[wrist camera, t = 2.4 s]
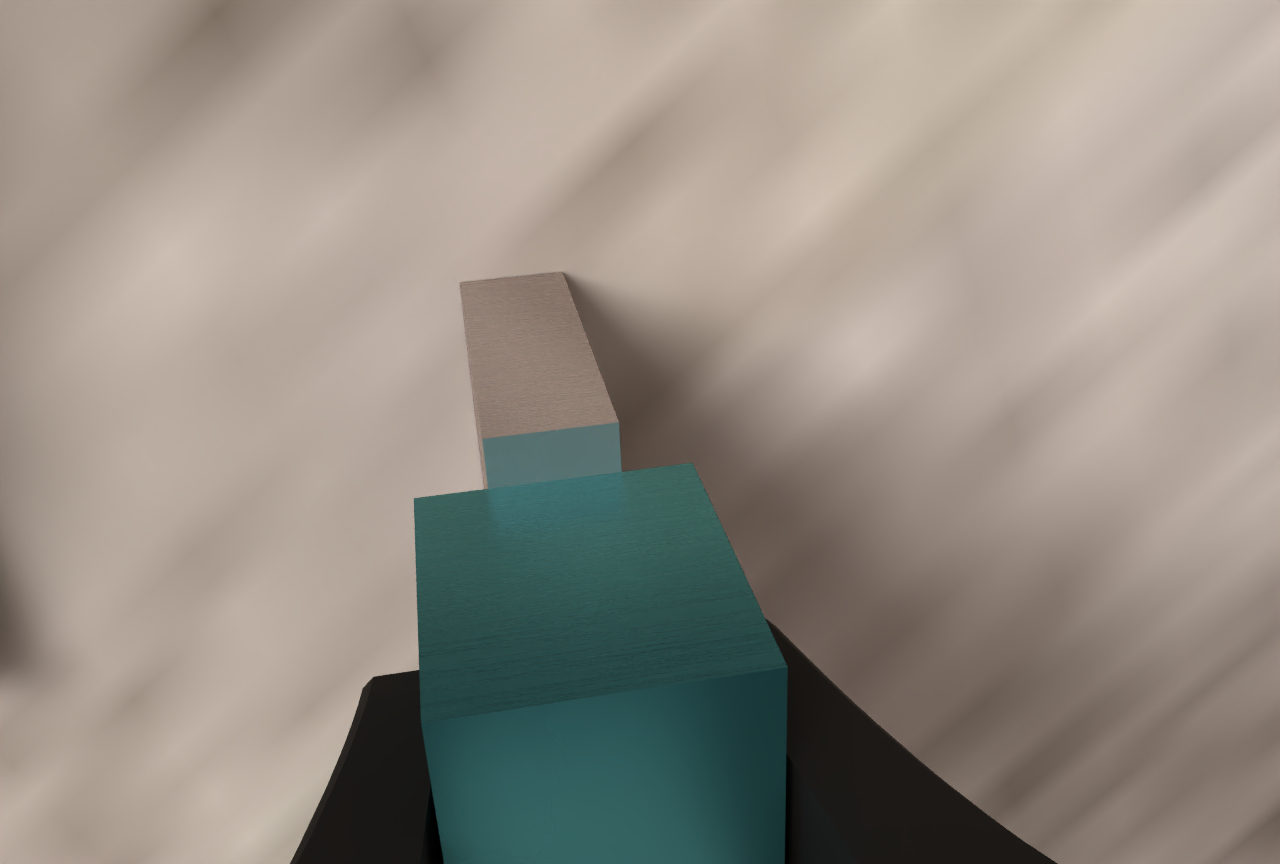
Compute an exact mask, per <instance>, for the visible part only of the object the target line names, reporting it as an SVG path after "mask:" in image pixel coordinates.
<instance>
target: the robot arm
mask: <svg viewBox="0 0 1280 864" xmlns="http://www.w3.org/2000/svg"><path fill="white" fill-rule="evenodd" d="M765 620H766V622H767V624H768V626H769V628H770V630H771V632H772V635H773V637H774V639H775V641H776V643H777V645H778V647H779V650H780V652H781V654H782V656H783V658H784V660H785V662H786V665H787V667H788V675H787V741H786V807H785V864H1057V863H1056V862H1054V861H1053V860H1051V859H1050V858H1048V857H1047V856H1045V855H1044V854H1042V853H1041V852H1039V851H1038V850H1036V849H1035V848H1033V847H1032V846H1030V845H1028V844H1027V843H1025V842H1024V841H1023V840H1021V839H1020V838H1018V837H1017V836H1015V835H1014V834H1013V833H1011V832H1010V831H1009V830H1007V829H1006V828H1005V827H1003V826H1002V825H1000V824H999V823H998V822H996V821H995V820H994V819H992V818H991V817H990V816H988V815H987V814H986V813H984V812H983V811H982V810H981V809H979V808H978V807H977V806H975V805H974V804H973V803H972V802H970V801H969V800H968V799H966V798H965V797H964V796H963V795H961V794H960V793H959V792H957V791H956V790H955V789H954V788H952V787H951V786H950V785H948V784H947V783H946V782H945V781H944V780H942V779H941V778H940V777H939V776H937V775H936V774H935V773H934V772H933V771H931V770H930V769H929V768H928V767H927V766H925V765H924V764H923V763H922V762H920V761H919V760H918V759H917V758H916V757H915V756H914V755H912V754H911V753H910V752H909V751H908V750H907V749H906V748H904V747H903V746H902V745H901V744H900V743H899V742H897V741H896V740H895V739H894V738H893V737H892V736H891V735H889V734H888V733H887V732H886V731H885V730H884V729H883V728H881V727H880V726H879V725H878V724H877V723H876V722H875V721H873V720H872V719H871V718H870V717H869V716H868V715H867V714H866V713H865V712H864V711H862V710H861V709H860V708H859V707H858V706H857V705H856V704H855V703H854V702H853V701H852V700H851V699H850V698H848V697H847V696H846V695H845V694H844V693H843V692H842V691H841V690H840V689H839V688H838V687H837V686H836V685H835V684H834V683H833V682H832V681H831V680H830V679H828V678H827V677H826V676H825V675H824V674H823V673H822V672H821V671H820V670H819V669H818V668H817V667H816V666H815V665H814V664H813V663H812V662H811V661H810V660H809V659H808V658H807V657H806V656H805V655H804V654H803V653H802V652H801V651H800V650H799V649H798V648H797V647H796V646H795V645H794V644H793V643H792V642H791V641H790V640H789V639H788V638H787V637H786V636H785V635H784V634H783V633H782V632H781V631H780V630H779V629H778V628H777V627H776V626H774V625H773V624H772V623H771V622H769V621H768V620H767V619H765ZM290 864H444V860H443V854H442V848H441V842H440V836H439V830H438V824H437V818H436V811H435V805H434V799H433V793H432V787H431V781H430V775H429V769H428V763H427V757H426V750H425V744H424V738H423V732H422V726H421V706H420V675H419V670H416V671H410V672H403V673H396V674H389V675H382V676H376V677H373V678H372V679H371V680H370V681H369V682H368V683H367V685H366V686H365V687H364V688H363V689H362V693H361V697H360V700H359V704H358V707H357V710H356V713H355V716H354V719H353V722H352V725H351V728H350V731H349V733H348V736H347V739H346V741H345V744H344V747H343V749H342V752H341V754H340V757H339V759H338V761H337V764H336V766H335V769H334V771H333V773H332V776H331V778H330V781H329V783H328V785H327V787H326V790H325V792H324V794H323V796H322V798H321V800H320V802H319V804H318V807H317V809H316V811H315V813H314V815H313V817H312V819H311V821H310V824H309V826H308V828H307V830H306V832H305V834H304V836H303V838H302V841H301V843H300V845H299V847H298V849H297V851H296V853H295V855H294V857H293V859H292V861H291V863H290Z"/></svg>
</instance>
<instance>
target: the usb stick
mask: <svg viewBox="0 0 1280 864" xmlns="http://www.w3.org/2000/svg"><path fill="white" fill-rule="evenodd" d="M460 291H461V299H462V307H463V316H464V324H465V332H466V341H467V349H468V358H469V366H470V374H471V383H472V391H473V400H474V408H475V416H476V425H477V433H478V441H479V450H480V458H481V467H482V475H483V483H484V490H476V491H468V492H460V493H452V494H445V495H437V496H429V497H421V498H414V518H415V549H416V581H417V612H418V643H419V675H420V706H421V726H422V732H423V738H424V744H425V750H426V757H427V763H428V769H429V775H430V781H431V787H432V793H433V799H434V805H435V811H436V818H437V824H438V830H439V836H440V842H441V848H442V854H443V860H444V864H785V807H786V741H787V675H788V667H787V665H786V662H785V660H784V658H783V656H782V654H781V652H780V650H779V647H778V645H777V643H776V641H775V639H774V637H773V635H772V632H771V630H770V628H769V626H768V624H767V622H766V620H765V617H764V615H763V613H762V611H761V609H760V607H759V604H758V602H757V600H756V598H755V596H754V594H753V592H752V589H751V587H750V585H749V583H748V581H747V579H746V577H745V574H744V572H743V570H742V568H741V566H740V564H739V562H738V559H737V557H736V555H735V553H734V551H733V549H732V546H731V544H730V542H729V540H728V538H727V536H726V534H725V531H724V529H723V527H722V525H721V523H720V521H719V519H718V516H717V514H716V512H715V510H714V508H713V506H712V504H711V501H710V499H709V497H708V495H707V493H706V491H705V488H704V486H703V484H702V482H701V480H700V478H699V476H698V473H697V471H696V469H695V467H694V465H693V463H687V464H679V465H671V466H664V467H656V468H648V469H640V470H632V471H625V472H622V466H621V449H620V432H619V421H618V418H617V416H616V413H615V410H614V408H613V405H612V402H611V400H610V397H609V394H608V392H607V389H606V386H605V384H604V381H603V378H602V376H601V373H600V370H599V368H598V365H597V362H596V360H595V357H594V354H593V352H592V349H591V346H590V344H589V341H588V338H587V336H586V333H585V330H584V328H583V325H582V322H581V320H580V317H579V314H578V312H577V309H576V306H575V304H574V301H573V298H572V296H571V293H570V290H569V288H568V285H567V282H566V280H565V277H564V274H563V272H559V273H549V274H540V275H530V276H520V277H511V278H501V279H491V280H482V281H472V282H462V283H460Z"/></svg>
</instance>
